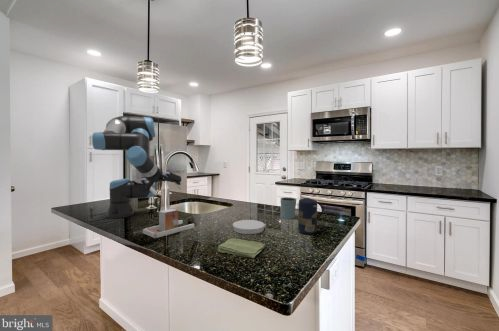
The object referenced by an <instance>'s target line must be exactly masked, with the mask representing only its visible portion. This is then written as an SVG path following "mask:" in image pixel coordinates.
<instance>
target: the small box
mask: <svg viewBox="0 0 499 331" xmlns="http://www.w3.org/2000/svg"><path fill="white" fill-rule="evenodd" d="M178 221H179V210H178V209H174V208H169V209H165V210H160V211H158V225H159V230H158V231H159V232H162V231H166V230H170V229H174V228H178V227H179V225H178Z"/></svg>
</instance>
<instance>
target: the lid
mask: <svg viewBox="0 0 499 331" xmlns="http://www.w3.org/2000/svg"><path fill="white" fill-rule="evenodd" d="M232 227H233V228H232V229H233V231H234V232H235V233H238V234H243V235H255V234H260V233H262V232H264V230H265V228H267V224H266V223H264V222H263V221H260V220H255V219H242V220H237V221H234V222H233V223H232Z"/></svg>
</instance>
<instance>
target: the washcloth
mask: <svg viewBox="0 0 499 331" xmlns="http://www.w3.org/2000/svg"><path fill="white" fill-rule="evenodd" d="M264 248H266V245H265V244H264V243H262V242H258V241H254V240H245V239H240V238H236V237H235V238H234V237H233V238H228V239H227V240H226V241H224V242H222V243H221V244H218V246H217V247H216V251H217V252H218V253H221V254H225V253H227V254H226V255H230V254H232V255H231V256H236V257H237V256H238V257H243V258H249V259H255V258H256V256H257V255H258V254H260V252H262V251H263V249H264Z"/></svg>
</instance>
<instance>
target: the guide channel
mask: <svg viewBox="0 0 499 331" xmlns="http://www.w3.org/2000/svg"><path fill="white" fill-rule="evenodd" d="M183 223H184V222H183V219H180V220H179V219H178V228H174V229H170V230H166V231H162V232H161V231H159V224H158V225H154V226H149V227H146V228H142V234H144V235H146V236H149V237H151V238H153V239H158V238H161V237H164V236H169V235H171V234H176V233H178V232H183V231H186V230H190V229H194V228H195V223H190V224H186V225H183V226H182V224H183ZM179 225H181V226H179ZM152 230H157V231H159V233H154V232H151V231H152Z"/></svg>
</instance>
